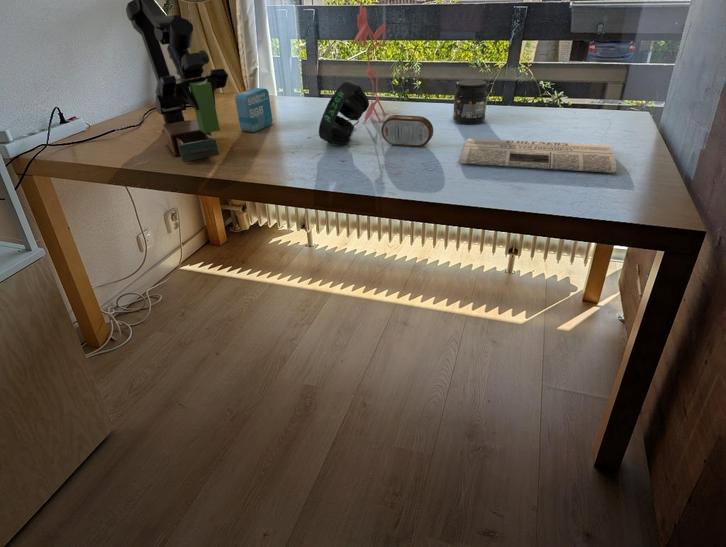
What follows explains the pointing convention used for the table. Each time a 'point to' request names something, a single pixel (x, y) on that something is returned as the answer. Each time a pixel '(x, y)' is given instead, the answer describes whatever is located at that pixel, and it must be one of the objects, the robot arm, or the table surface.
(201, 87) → the green beveled box
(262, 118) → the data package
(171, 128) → the cabinet
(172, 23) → the robot arm
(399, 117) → the tin
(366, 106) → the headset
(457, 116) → the supplement container
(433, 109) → the table surface
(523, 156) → the newspaper
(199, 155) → the drawer
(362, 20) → the figurine
